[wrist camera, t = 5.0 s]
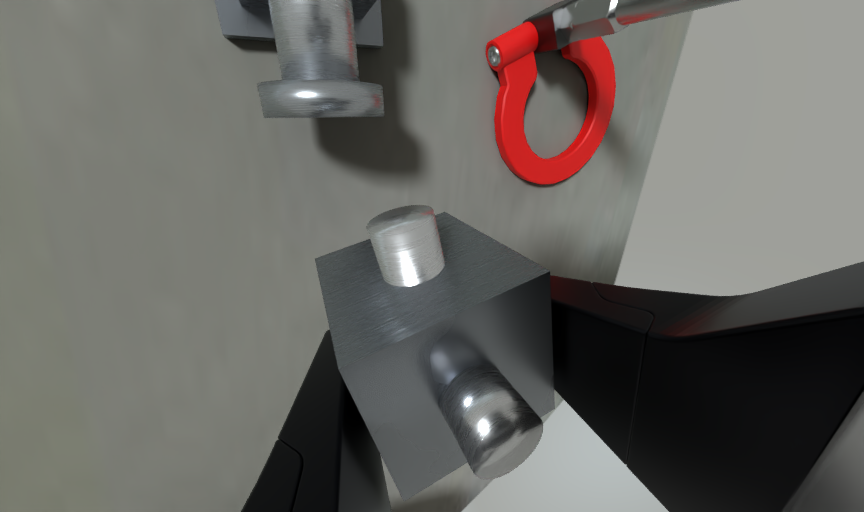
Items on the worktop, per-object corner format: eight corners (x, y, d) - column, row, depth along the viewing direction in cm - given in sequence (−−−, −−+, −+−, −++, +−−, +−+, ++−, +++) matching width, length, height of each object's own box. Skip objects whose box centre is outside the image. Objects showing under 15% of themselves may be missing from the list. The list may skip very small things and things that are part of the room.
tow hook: (604, 143, 22) (592, -19, 17) (908, 182, 11) (1125, -220, 6) (509, 204, 21) (465, 49, 16) (752, 311, 10) (863, -60, 5)
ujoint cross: (470, 337, 12) (593, 482, 7) (371, 386, 11) (438, 594, 6) (437, 173, 9) (611, 232, 4) (297, 218, 8) (313, 367, 3)
